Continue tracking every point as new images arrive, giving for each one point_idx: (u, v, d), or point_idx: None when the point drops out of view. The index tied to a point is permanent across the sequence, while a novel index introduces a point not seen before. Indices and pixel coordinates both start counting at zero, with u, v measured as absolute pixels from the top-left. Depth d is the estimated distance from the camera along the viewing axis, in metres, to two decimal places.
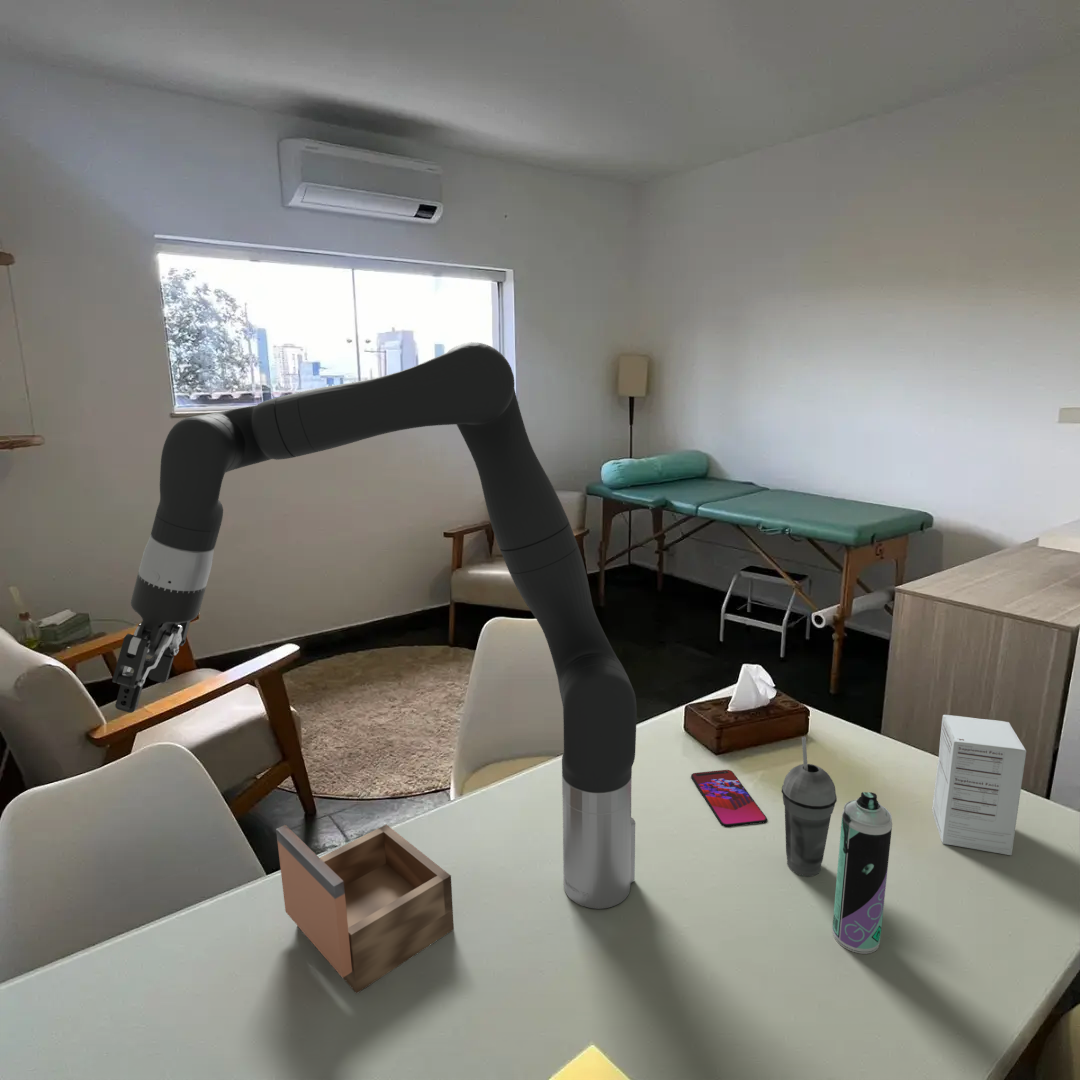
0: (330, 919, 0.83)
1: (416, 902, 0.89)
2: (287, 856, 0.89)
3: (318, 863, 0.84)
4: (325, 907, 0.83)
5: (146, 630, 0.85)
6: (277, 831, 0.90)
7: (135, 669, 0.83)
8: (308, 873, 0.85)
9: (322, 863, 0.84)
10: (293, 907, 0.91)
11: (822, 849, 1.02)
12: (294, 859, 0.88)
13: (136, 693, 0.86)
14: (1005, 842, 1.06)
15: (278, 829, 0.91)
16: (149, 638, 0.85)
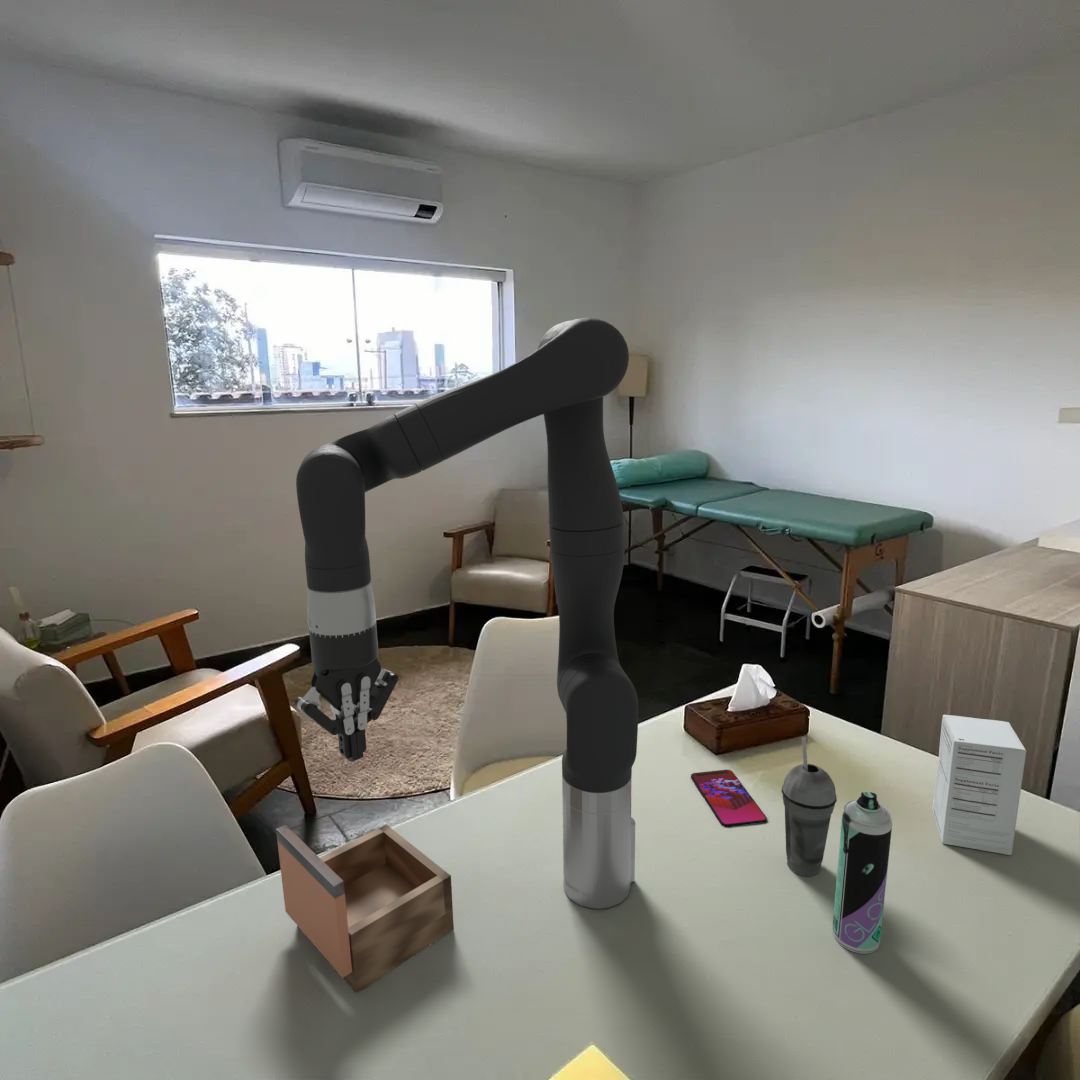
0: (330, 919, 0.83)
1: (416, 902, 0.89)
2: (287, 856, 0.89)
3: (318, 863, 0.84)
4: (325, 907, 0.83)
5: (315, 683, 0.83)
6: (277, 831, 0.90)
7: (320, 725, 0.83)
8: (308, 873, 0.85)
9: (322, 863, 0.84)
10: (293, 907, 0.91)
11: (822, 849, 1.02)
12: (294, 859, 0.88)
13: (350, 742, 0.87)
14: (1005, 842, 1.06)
15: (278, 829, 0.91)
16: (318, 692, 0.83)
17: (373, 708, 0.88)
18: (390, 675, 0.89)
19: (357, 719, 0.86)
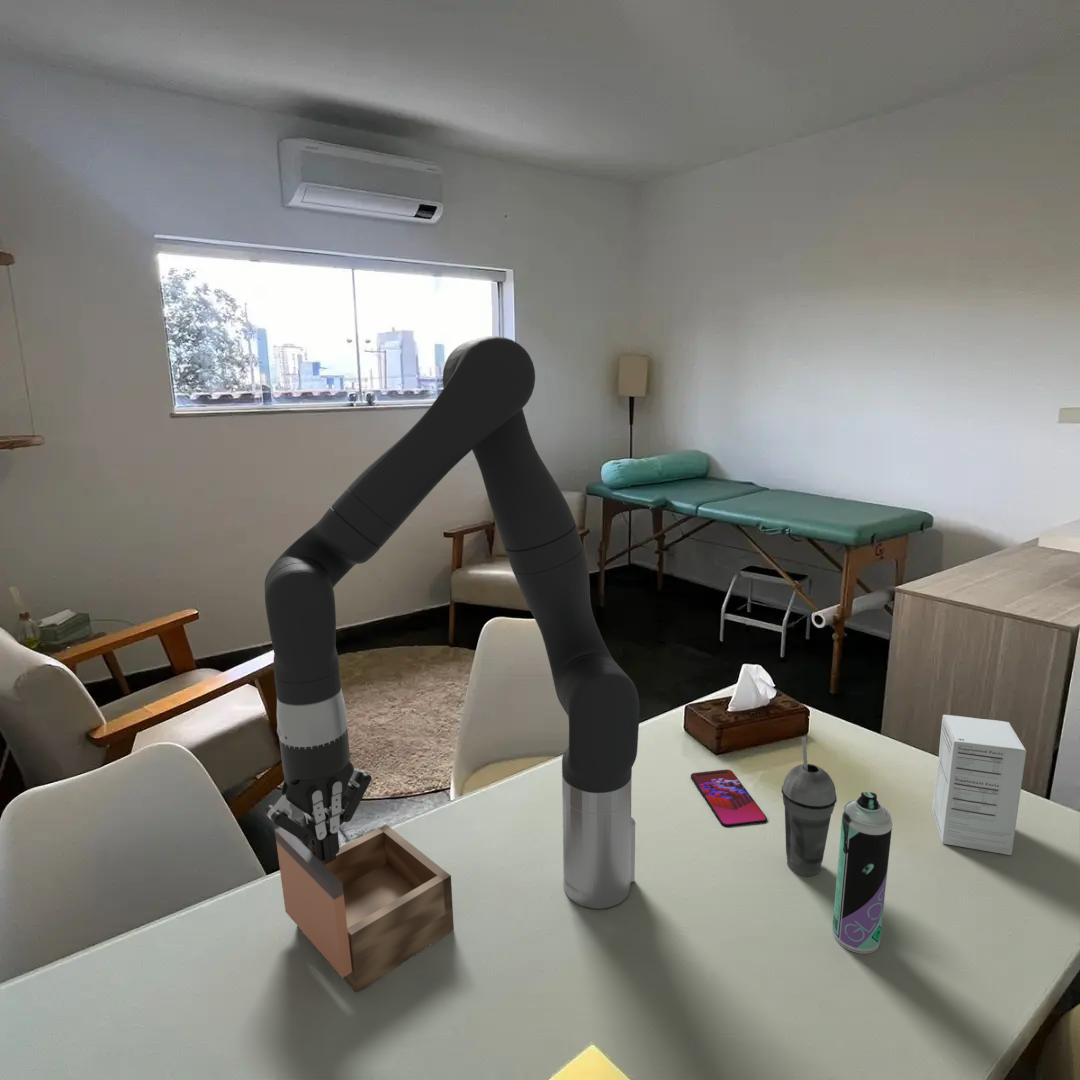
0: (329, 920, 0.83)
1: (416, 902, 0.89)
2: (286, 857, 0.89)
3: (317, 864, 0.84)
4: (324, 908, 0.83)
5: (286, 792, 0.83)
6: (276, 832, 0.90)
7: None
8: (307, 874, 0.85)
9: (321, 864, 0.84)
10: (293, 907, 0.91)
11: (822, 849, 1.02)
12: (293, 860, 0.88)
13: (322, 846, 0.86)
14: (1005, 842, 1.06)
15: (277, 830, 0.90)
16: (289, 801, 0.83)
17: (346, 810, 0.88)
18: (363, 776, 0.89)
19: (329, 823, 0.86)
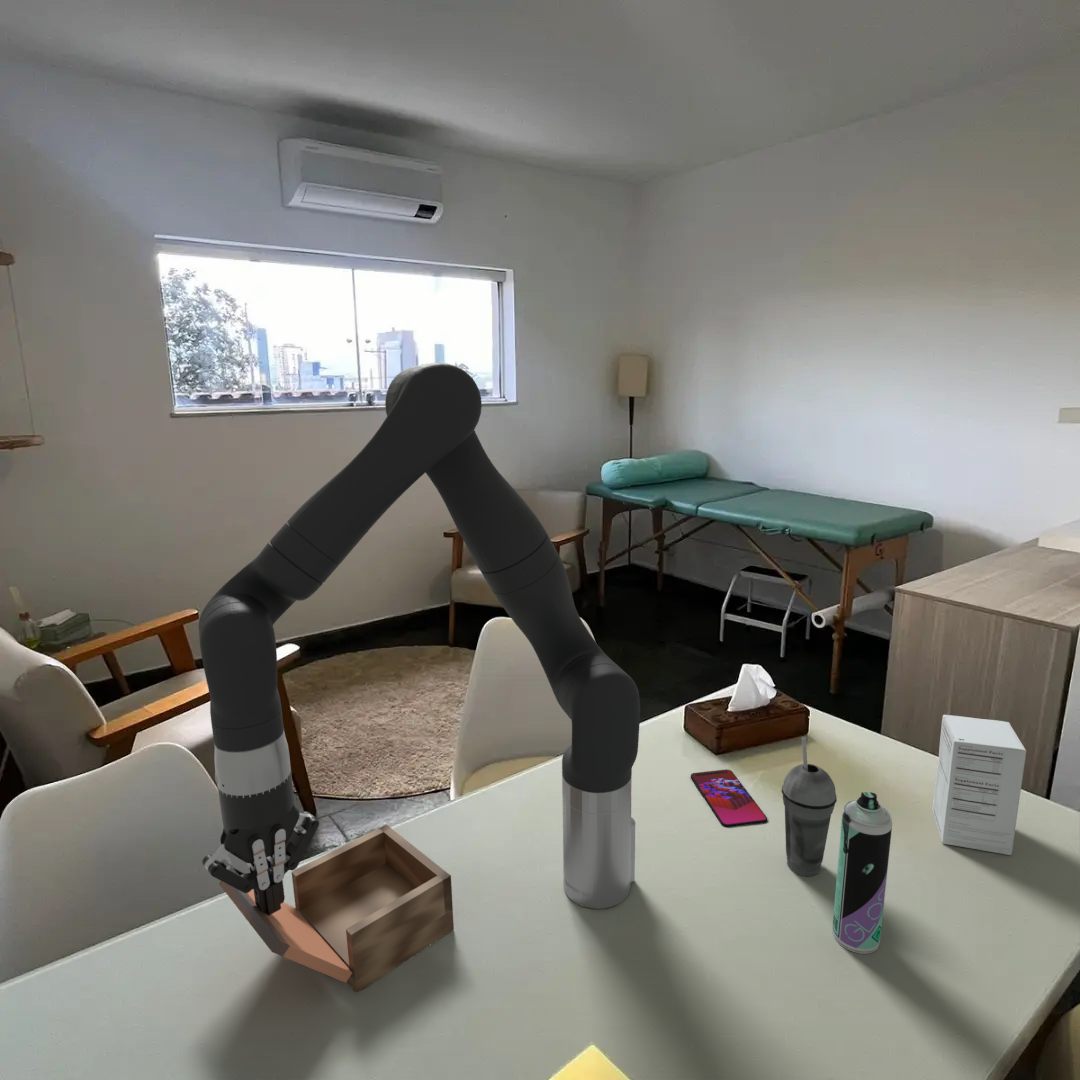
0: None
1: (416, 902, 0.89)
2: None
3: (257, 922, 0.80)
4: None
5: (224, 841, 0.79)
6: (221, 885, 0.86)
7: None
8: None
9: (260, 920, 0.80)
10: None
11: (822, 849, 1.02)
12: None
13: (265, 896, 0.82)
14: (1005, 842, 1.06)
15: (220, 884, 0.86)
16: (228, 851, 0.79)
17: (291, 858, 0.83)
18: (310, 821, 0.85)
19: (273, 872, 0.82)
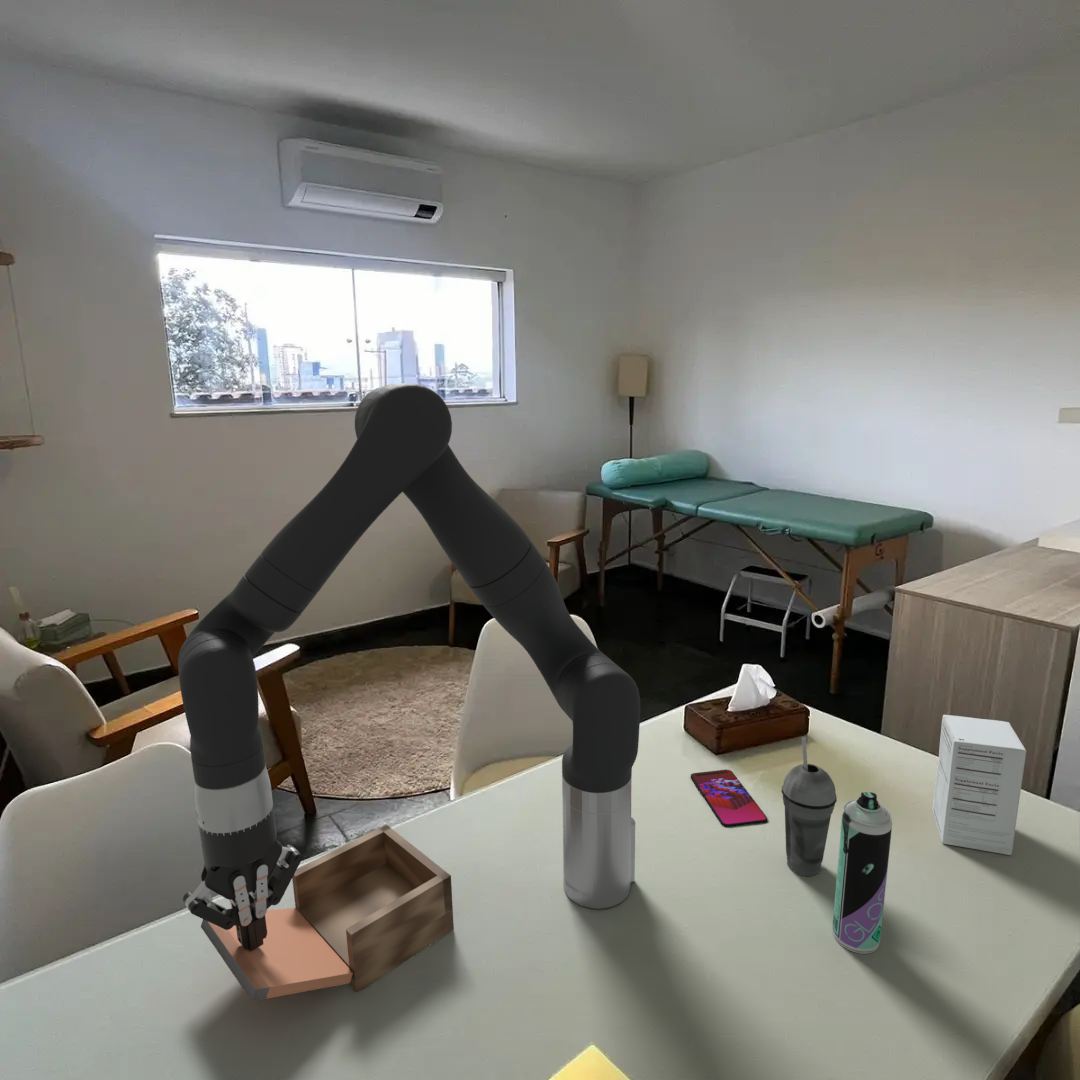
0: None
1: (416, 902, 0.89)
2: None
3: (235, 968, 0.79)
4: None
5: (205, 878, 0.78)
6: None
7: None
8: None
9: (237, 967, 0.79)
10: None
11: (822, 849, 1.02)
12: None
13: (247, 932, 0.81)
14: (1005, 842, 1.06)
15: (202, 926, 0.86)
16: (208, 888, 0.78)
17: (273, 893, 0.83)
18: (293, 855, 0.84)
19: (255, 907, 0.81)
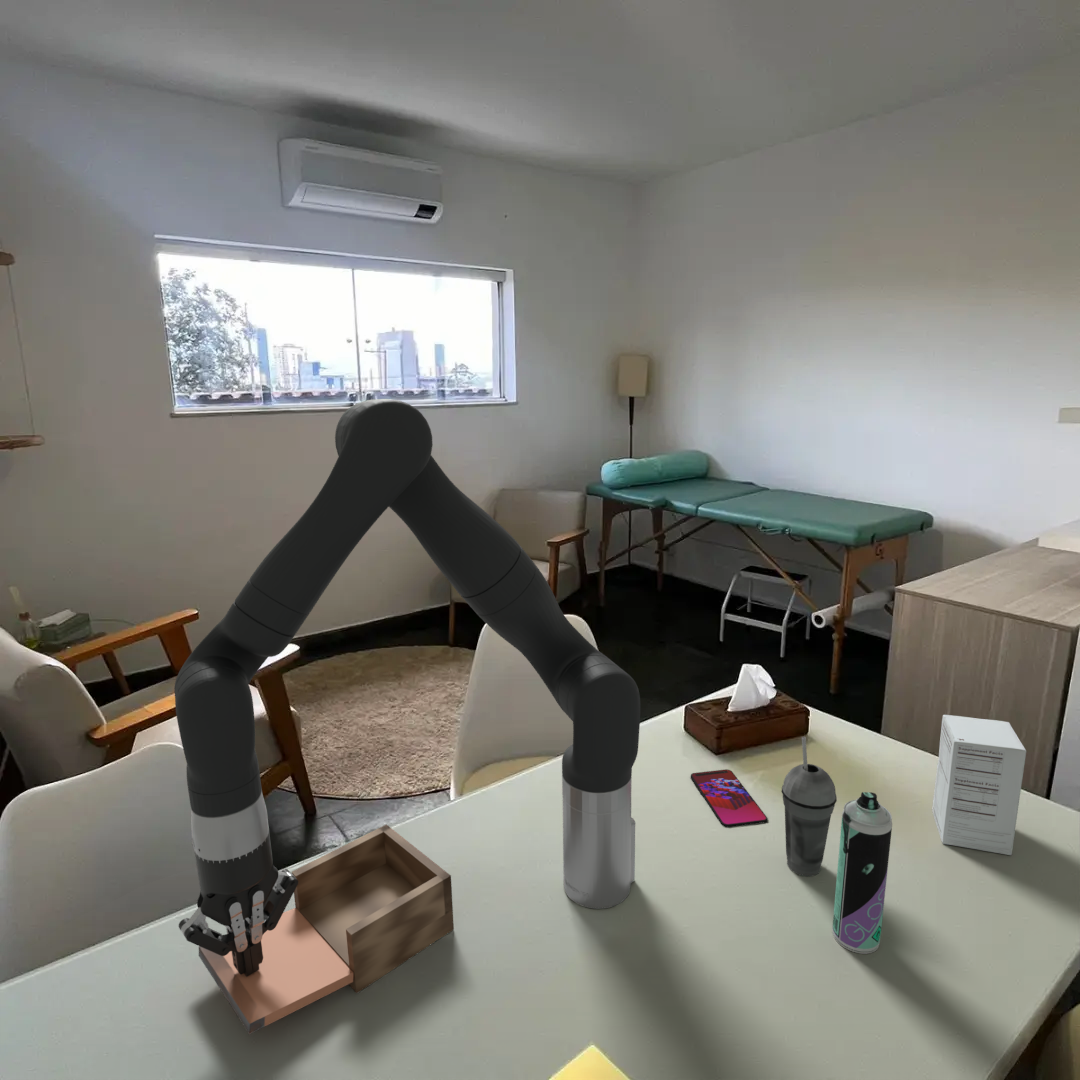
0: None
1: (416, 902, 0.89)
2: None
3: (231, 1001, 0.79)
4: None
5: None
6: None
7: None
8: None
9: (232, 1000, 0.79)
10: None
11: (822, 849, 1.02)
12: None
13: (243, 958, 0.81)
14: (1005, 842, 1.06)
15: (199, 956, 0.86)
16: (204, 914, 0.78)
17: (269, 918, 0.83)
18: (289, 880, 0.84)
19: (251, 933, 0.81)
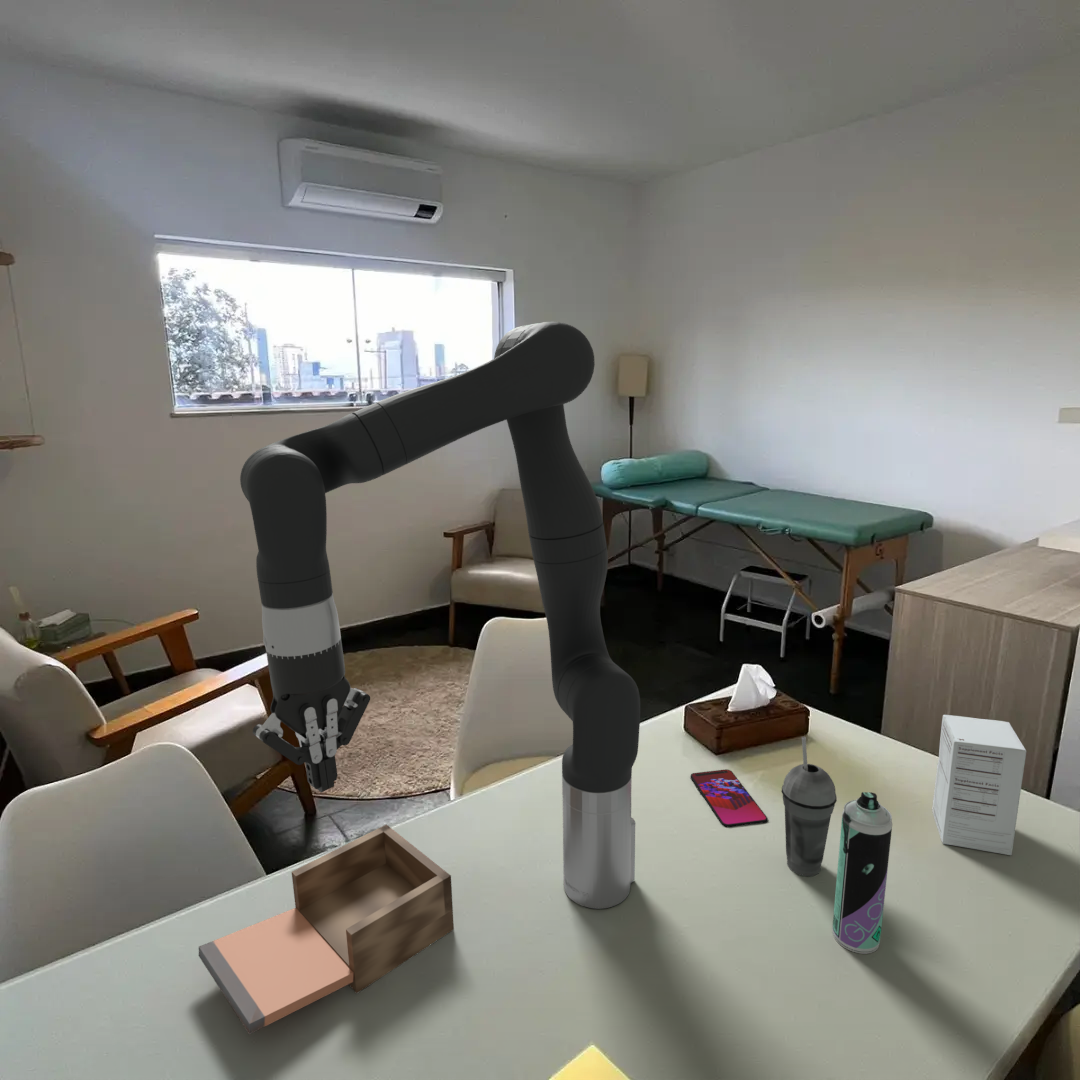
0: None
1: (416, 902, 0.89)
2: None
3: (231, 1001, 0.79)
4: None
5: None
6: None
7: (283, 755, 0.75)
8: None
9: (232, 1000, 0.79)
10: None
11: (822, 849, 1.02)
12: None
13: (318, 771, 0.79)
14: (1005, 842, 1.06)
15: (199, 956, 0.86)
16: (279, 719, 0.75)
17: (343, 732, 0.80)
18: (361, 695, 0.81)
19: (325, 745, 0.79)
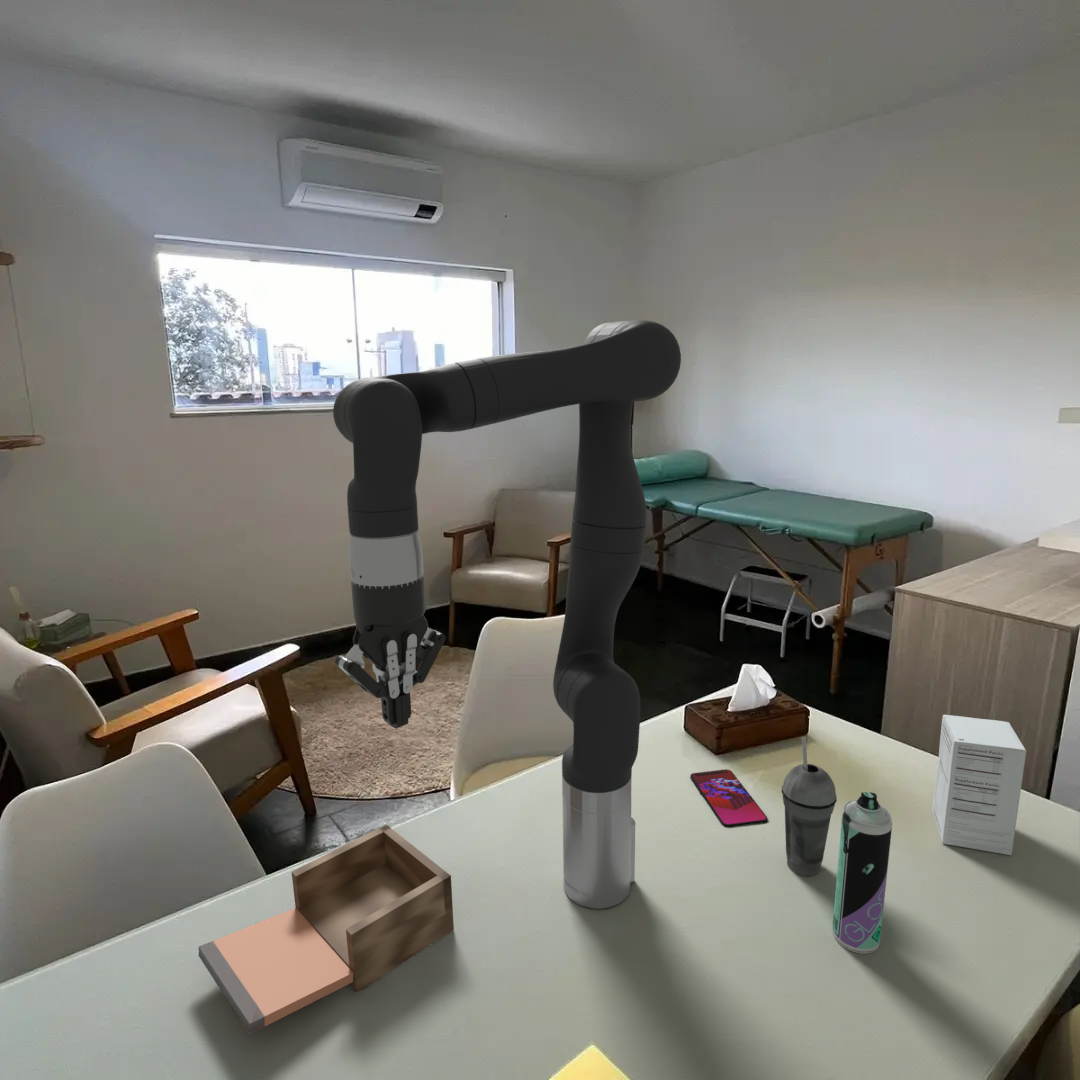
0: None
1: (416, 902, 0.89)
2: None
3: (231, 1001, 0.79)
4: None
5: (358, 641, 0.76)
6: None
7: (364, 686, 0.76)
8: None
9: (232, 1000, 0.79)
10: None
11: (822, 849, 1.02)
12: None
13: (394, 707, 0.79)
14: (1005, 842, 1.06)
15: (199, 956, 0.86)
16: (362, 650, 0.76)
17: (419, 670, 0.80)
18: (437, 634, 0.82)
19: (402, 681, 0.79)
